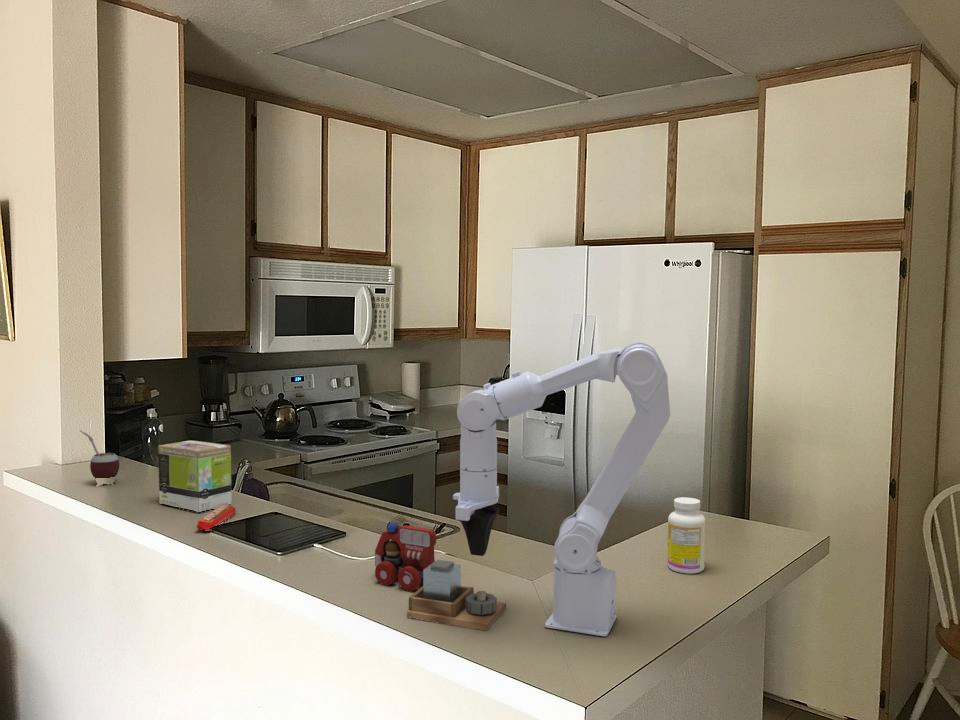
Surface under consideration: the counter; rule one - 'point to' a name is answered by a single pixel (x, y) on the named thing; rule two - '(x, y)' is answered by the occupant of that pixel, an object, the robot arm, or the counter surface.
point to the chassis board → (453, 610)
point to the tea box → (195, 474)
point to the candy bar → (216, 517)
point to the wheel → (481, 604)
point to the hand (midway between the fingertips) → (478, 554)
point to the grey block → (442, 581)
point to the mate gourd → (103, 463)
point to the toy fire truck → (404, 555)
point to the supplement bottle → (686, 537)
